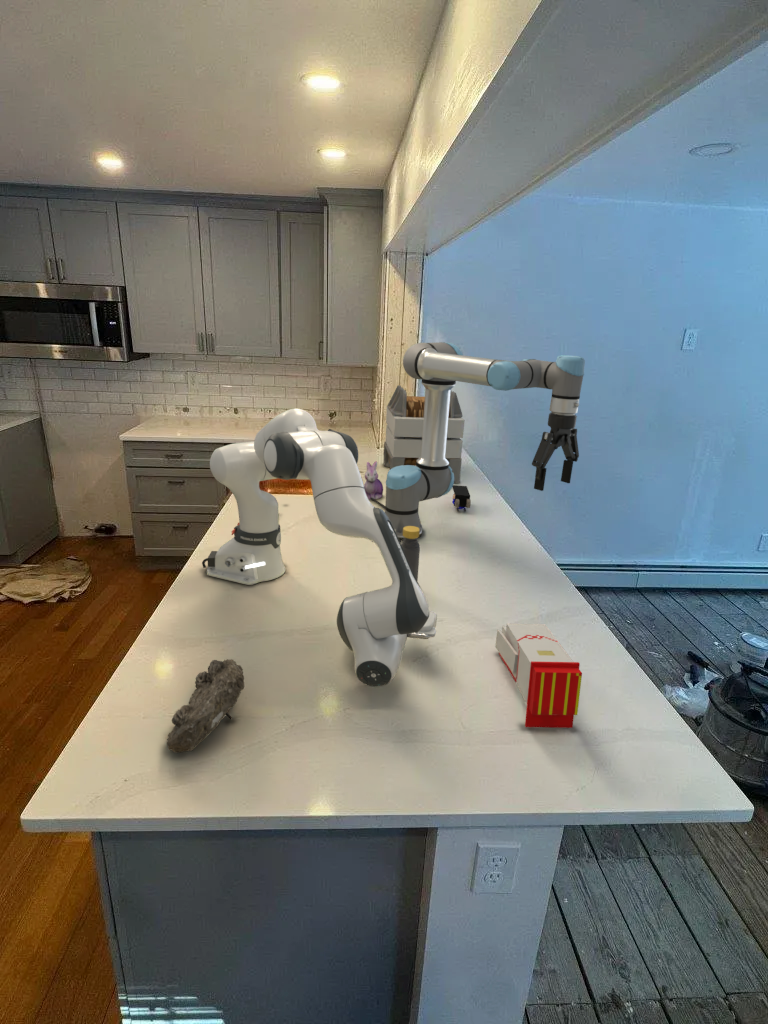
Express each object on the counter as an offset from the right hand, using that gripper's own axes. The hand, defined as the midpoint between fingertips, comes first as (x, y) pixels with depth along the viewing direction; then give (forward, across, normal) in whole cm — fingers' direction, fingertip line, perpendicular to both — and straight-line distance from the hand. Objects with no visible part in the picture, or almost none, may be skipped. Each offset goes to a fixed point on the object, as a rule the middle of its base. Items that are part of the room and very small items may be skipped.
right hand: (552, 485), depth 166 cm
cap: (+10, -41, +16) cm, 45 cm away
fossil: (+28, -107, 0) cm, 110 cm away
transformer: (+28, +46, +101) cm, 115 cm away
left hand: (+20, -58, +2) cm, 62 cm away
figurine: (+28, +4, +85) cm, 90 cm away
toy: (+28, -49, -32) cm, 65 cm away
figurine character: (+28, +25, +55) cm, 67 cm away
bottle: (+28, -41, +16) cm, 52 cm away
